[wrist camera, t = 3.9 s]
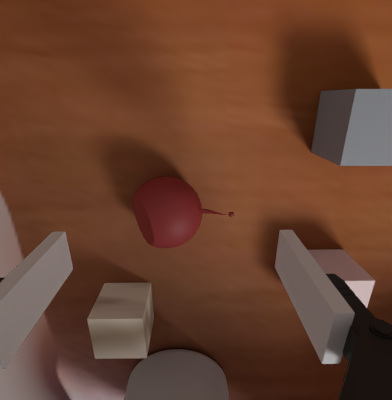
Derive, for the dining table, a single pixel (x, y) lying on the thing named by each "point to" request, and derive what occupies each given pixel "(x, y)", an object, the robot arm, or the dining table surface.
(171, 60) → the dining table surface
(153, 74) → the dining table surface
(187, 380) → the cylinder vase
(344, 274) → the dusty rose block
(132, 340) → the birch block
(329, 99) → the slate grey block
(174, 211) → the fruit
